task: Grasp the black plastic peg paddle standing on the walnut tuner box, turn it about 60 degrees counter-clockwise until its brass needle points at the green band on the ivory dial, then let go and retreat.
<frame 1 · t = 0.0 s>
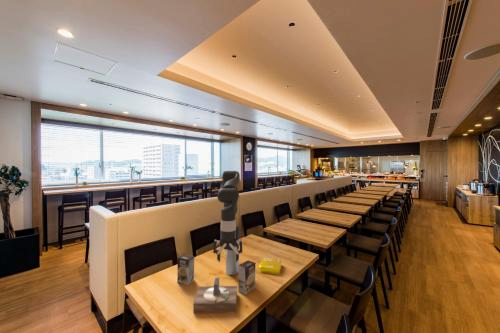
hand: (228, 260, 104), 29 cm above the table, fingers open, 8 cm apart
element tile: (270, 269, 155), on the table
coffee box: (185, 281, 137), on the table
coffee box 2: (246, 290, 129), on the table
peg knob: (216, 289, 114), point 9 cm above the table, hinge at 0.0°
tuner box: (216, 303, 116), on the table
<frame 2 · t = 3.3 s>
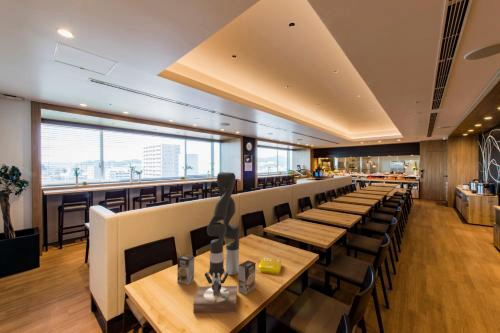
hand: (216, 290, 116), 7 cm above the table, fingers closed on peg knob, 2 cm apart
peg knob: (216, 289, 114), point 9 cm above the table, hinge at 0.0°, touching gripper
everything else where it was.
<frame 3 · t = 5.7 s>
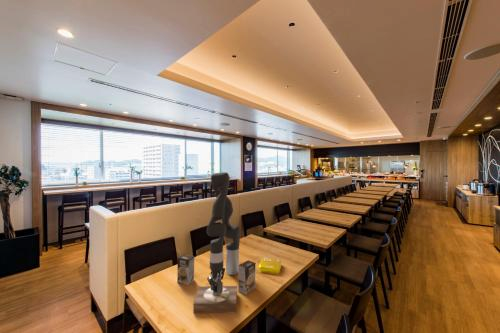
hand: (216, 290, 116), 7 cm above the table, fingers closed on peg knob, 2 cm apart
peg knob: (218, 288, 115), point 9 cm above the table, hinge at 55.3°, touching gripper
everything else where it was.
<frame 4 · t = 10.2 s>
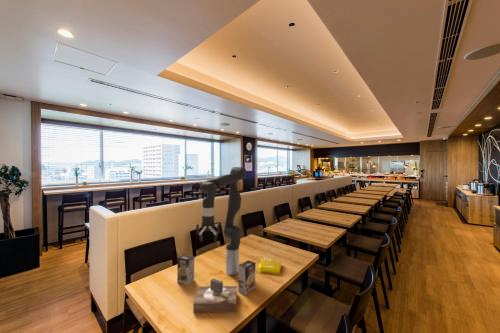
hand: (208, 240, 128), 30 cm above the table, fingers open, 8 cm apart
peg knob: (219, 288, 115), point 9 cm above the table, hinge at 59.6°
everything else where it was.
at the end: peg knob at +60° (first picture: +0°); the gripper is holding nothing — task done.
